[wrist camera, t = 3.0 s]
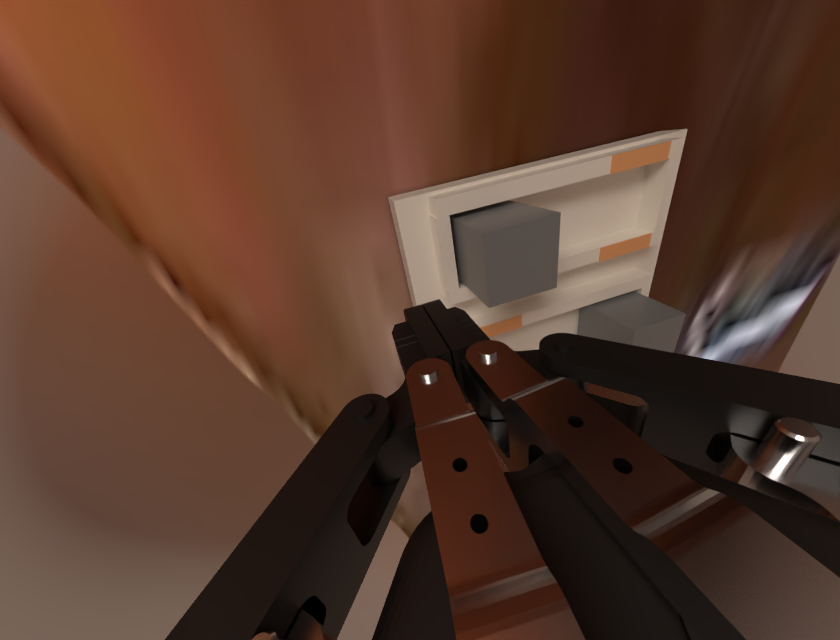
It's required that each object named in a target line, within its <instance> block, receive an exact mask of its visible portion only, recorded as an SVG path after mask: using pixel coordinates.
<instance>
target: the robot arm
mask: <svg viewBox="0 0 840 640" xmlns="http://www.w3.org/2000/svg"><path fill="white" fill-rule="evenodd" d="M404 315H405V319H406V322H403V323H399V324H396V325H395V326H394V328H393V331H392V335H393V339H394V342H395V346H396V349H397V352H398V356H399V359H400V363H401V366H402V369H403V372H404V375H405V380H404V383H403V384H402V386H401V387H400V388H399V389H398V390H397V391H396V392H394V393H393V394H392V395H390V396H388V397H387V398H384V397H383V396H381V395H378V394H365V395H362V396H359V397H357V398H355V399H353V400H352V401H350V402H349V403H348V404H347V405H346V406H345V407H344V408H343V410H342V411H341V412H340V414H339V415H338V416H337V417H336V419H335V420H334V421H333V423H332V424H331V425H330V426H329V428H328V429H327V430H326V432H325V433H324V434H323V436H322V437H321V438H320V439H319V441H318V442H317V443H316V445H315V446H314V448H313V449H312V450H311V451H310V453H309V454H308V455H307V456H306V458H305V459H304V460H303V462H302V463H301V464H300V465H299V467H298V468H297V469H296V471H295V472H294V473H293V475H292V476H291V477H290V478H289V480H288V481H287V482H286V483H285V485H284V486H283V487H282V489H281V490H280V491H279V493H278V494H277V495H276V496H275V498H274V499H273V500H272V502H271V503H270V504H269V505H268V507H267V508H266V509H265V511H264V512H263V513H262V515H261V516H260V517H259V519H258V520H257V521H256V522H255V524H254V525H253V526H252V527H251V529H250V530H249V532H248V533H247V534H246V535H245V537H244V538H243V539H242V540H241V542H240V543H239V544H238V546H237V547H236V548H235V549H234V551H233V552H232V553H231V555H230V556H229V558H228V559H227V560H226V561H225V562H224V564H223V565H222V566H221V568H220V569H219V570H218V572H217V573H216V574H215V575H214V577H213V578H212V579H211V581H210V582H209V583H208V585H207V586H206V587H205V588H204V590H203V591H202V592H201V594H200V595H199V596H198V597H197V599H196V600H195V601H194V603H193V604H192V605H191V606H190V608H189V609H188V610H187V612H186V613H185V614H184V616H183V617H182V618H181V619H180V621H179V622H178V624H177V625H176V626H175V627H174V629H173V630H172V631H171V632H170V634H169V635H168V636H167V638H166V639H165V640H337V637H338V635H339V633H340V630H341V629H342V626H343V624H344V621H345V620H346V617H347V615H348V613H349V611H350V608H351V606H352V604H353V602H354V600H355V597H356V595H357V593H358V591H359V588H360V586H361V584H362V582H363V579H364V577H365V575H366V573H367V570H368V568H369V566H370V564H371V562H372V559H373V557H374V555H375V553H376V550H377V548H378V546H379V544H380V541H381V539H382V537H383V535H384V532H385V530H386V528H387V526H388V524H389V521H390V519H391V517H392V515H393V512H394V510H395V508H396V506H397V504H398V501H399V499H400V497H401V495H402V492H403V490H404V488H405V486H406V483H407V481H408V479H409V476H410V469H411V468H412V467H414V466H415V465H416V464H418V463H419V462H420V461H422V466H423V471H424V476H425V481H426V485H427V490H428V495H429V500H430V505H431V510H432V511H431V512H430V513H429V514H428V515H427V516H426V517H425V518H424V519H423V520H422V521H421V522H420V524H419V525H418V526H417V527H416V529H415V531H414V532H413V534H412V535H411V537H410V539H409V541H408V543H407V545H406V547H405V549H404V551H403V554H402V556H401V559H400V562H399V564H398V567H397V570H396V573H395V576H394V579H393V581H392V585H391V587H390V590H389V593H388V596H387V598H386V601H385V604H384V607H383V610H382V613H381V616H380V618H379V621H378V624H377V627H376V630H375V632H374V635H373V638H372V640H840V384H836V383H831V382H826V381H820V380H815V379H810V378H804V377H799V376H793V375H788V374H783V373H778V372H772V371H767V370H762V369H757V368H751V367H746V366H741V365H735V364H730V363H725V362H719V361H714V360H709V359H703V358H698V357H693V356H687V355H682V354H677V353H672V352H666V351H661V350H656V349H650V348H645V347H640V346H634V345H629V344H624V343H618V342H613V341H608V340H603V339H597V338H592V337H587V336H581V335H576V334H571V333H554V334H550V335H547V336H545V337H544V338H542V339H541V341H540V343H539V349H537V350H526V351H513V350H512V349H511V348H510V347H509V346H508V345H506V344H505V343H503V342H500V341H495V340H490V339H489V337H488V336H487V335H486V334H485V333H484V332H483V331H482V330H481V328H480V327H479V326H478V325H477V324H475V322H474V321H473V319H472V318H470V316H469V315H468V314H467V313H466V312H465V311H464V310H462V309H459V308H457V307H452V308H449V309H447V308H446V307H445V305H444V304H443V303H442V302H441V300H440V299H437V300H434V301H431V302H427V303H424V304H422V305H417V306H414V307H411V308H407V309H404ZM587 382H588V383H592V384H595V385H599V386H603V387H606V388H610V389H614V390H617V391H621V392H625V393H628V394H632V395H635V396H638V397H640V398H642V399H643V400H644V401H645V402H646V404H645V405H643V406H631V405H627V404H624V403H620V402H617V401H614V400H610V399H607V398H603V397H600V396H596V395H593V394H589V393H586V390H587ZM469 402H470V403H471V405H472V407H473V410H474V411H470V410H469V408H468V405H467V403H469ZM488 440H489V441H488ZM489 442H490V443H491V445H492V446H493V448H494V449H495V451H496V452H497V454H498V455H499V457H500V458H501V460H502V461H503V463H504V464H505V466H506V468H507V470H508V472H504V473H503V471H502V469H501V467H500V465H499V462H498V460H497V458H496V456H495V454H494V451H493V449H492V447H491V445H490V443H489Z"/></svg>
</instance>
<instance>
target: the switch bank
mask: <svg viewBox="0 0 840 640" xmlns="http://www.w3.org/2000/svg"><path fill="white" fill-rule="evenodd" d="M686 134H687V129H680V130H668V131H658V132H654V133H650V134H646V135H642V136H638V137H634V138H629V139H625V140H621V141H617V142H613V143H609V144H605V145H601V146H597V147H592V148H588V149H584V150H580V151H576V152H572V153H568V154H564V155H560V156H556V157H551V158H547V159H543V160H539V161H535V162H531V163H527V164H523V165H519V166H514V167H510V168H506V169H502V170H498V171H494V172H490V173H486V174H482V175H477V176H473V177H469V178H465V179H461V180H457V181H453V182H449V183H445V184H441V185H436V186H432V187H428V188H424V189H420V190H416V191H412V192H408V193H404V194H399V195H395V196H391V197H388V200H389V204H390V208H391V213H392V217H393V221H394V226H395V230H396V234H397V239H398V243H399V247H400V252H401V256H402V260H403V265H404V269H405V273H406V278H407V282H408V286H409V291H410V295H411V300H412V304H413V307H414V306H417V305H422V304H424V303H427V302H431V301H434V300H437V299H440V300H441V302H442V303H443V304H444V305H445V307H446V308H447V309H449V308H452V307H457V308H459V309H462V310H464V311H465V312H466V313H467V314H468V315H469V316H470V318H472V319H473V321H474V322H475V324H477V325H478V326H479V327H480V328H481V330H482V331H483V332H484V333H485V334H486V335H487V336H488V337H489V339H490V340H495V341H500V342H503V343H505V344H506V345H508V346H509V347H510V348H511V349H512V350H513V351H526V350H537V349H539V343H540V341H541V339H542V338H544V337H545V336H547V335H550V334H554V333H571V334H576V335H577V331H578V321H579V311H580V308H581V307H584V306H587V305H590V304H594V303H597V302H600V301H603V300H606V299H609V298H612V297H616V296H619V295H622V294H625V293H628V292H631V291H635V292H638V293H640V294H642V295H644V296H647V297H648V296H649V291H650V287H651V283H652V279H653V274H654V270H655V266H656V262H657V257H658V253H659V249H660V244H661V240H662V236H663V232H664V227H665V223H666V219H667V215H668V210H669V206H670V202H671V198H672V193H673V189H674V185H675V180H676V176H677V172H678V168H679V163H680V159H681V155H682V151H683V146H684V142H685V138H686ZM507 200H510V201H514V202H519V203H523V204H527V205H531V206H536V207H540V208H544V209H549V210H553V211H557V212H561V218H560V236H559V254H558V273H557V288H554V289H550V290H547V291H544V292H540V293H537V294H534V295H531V296H527V297H524V298H521V299H517V300H514V301H511V302H508V303H504V304H501V305H498V306H494V307H491V308H488V307H487V306H486V305H485V304H484V303H483V302H482V301H481V300H480V299H479V298H478V297H477V296H476V295H475V294H474V293H473V292H472V291H471V290H470V289H469V288H468V287H466V286H465V285H464V284H463V283H462V282H461V281H460V280H459V279H458V276H457V269H456V261H455V254H454V246H453V239H452V231H451V224H450V216H449V215H452V214H456V213H460V212H464V211H468V210H472V209H476V208H480V207H483V206H487V205H491V204H495V203H499V202H503V201H507Z"/></svg>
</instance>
